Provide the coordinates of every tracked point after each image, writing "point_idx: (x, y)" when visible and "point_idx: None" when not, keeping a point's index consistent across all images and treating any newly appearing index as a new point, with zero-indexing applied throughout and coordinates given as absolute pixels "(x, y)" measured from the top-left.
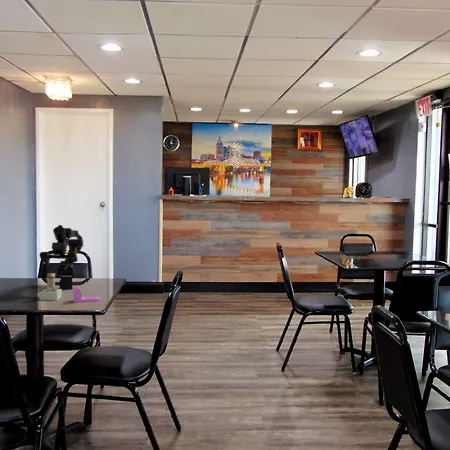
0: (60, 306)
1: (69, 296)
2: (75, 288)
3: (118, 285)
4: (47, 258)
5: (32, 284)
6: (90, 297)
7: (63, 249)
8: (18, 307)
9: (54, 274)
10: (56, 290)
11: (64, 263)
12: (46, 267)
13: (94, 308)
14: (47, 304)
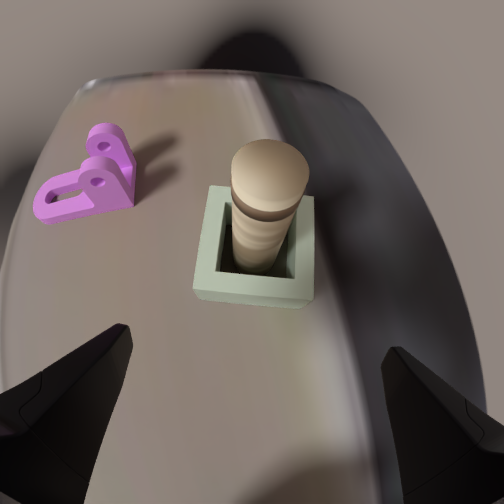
0: (187, 106)
1: (157, 313)
2: (107, 131)
3: None
4: (496, 465)
5: None
6: (62, 204)
7: None
8: (332, 110)
9: (233, 160)
10: (227, 274)
11: None
12: (405, 357)
13: (92, 95)
14: (241, 133)
